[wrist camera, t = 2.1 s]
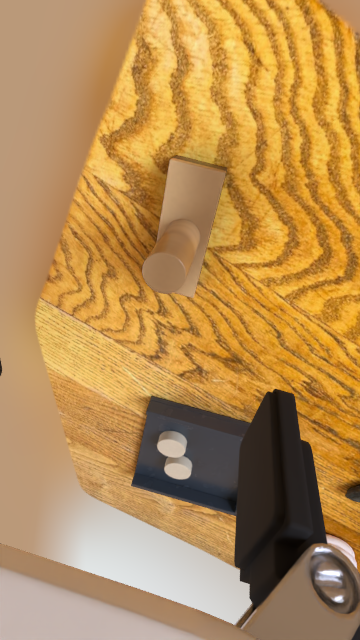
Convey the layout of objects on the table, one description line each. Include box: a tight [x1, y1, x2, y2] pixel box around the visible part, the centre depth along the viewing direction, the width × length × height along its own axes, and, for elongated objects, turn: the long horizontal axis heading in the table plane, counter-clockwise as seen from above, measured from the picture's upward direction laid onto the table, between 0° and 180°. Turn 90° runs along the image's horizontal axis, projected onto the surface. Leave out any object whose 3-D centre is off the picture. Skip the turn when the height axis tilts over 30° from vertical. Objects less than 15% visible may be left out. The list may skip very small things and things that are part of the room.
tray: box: [131, 396, 251, 516], centre depth 37 cm, size 14×15×2 cm
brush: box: [142, 155, 227, 298], centre depth 20 cm, size 4×9×8 cm, turn 169°
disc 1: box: [157, 431, 187, 458], centre depth 36 cm, size 3×3×1 cm
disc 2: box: [164, 456, 192, 479], centre depth 38 cm, size 3×3×1 cm
